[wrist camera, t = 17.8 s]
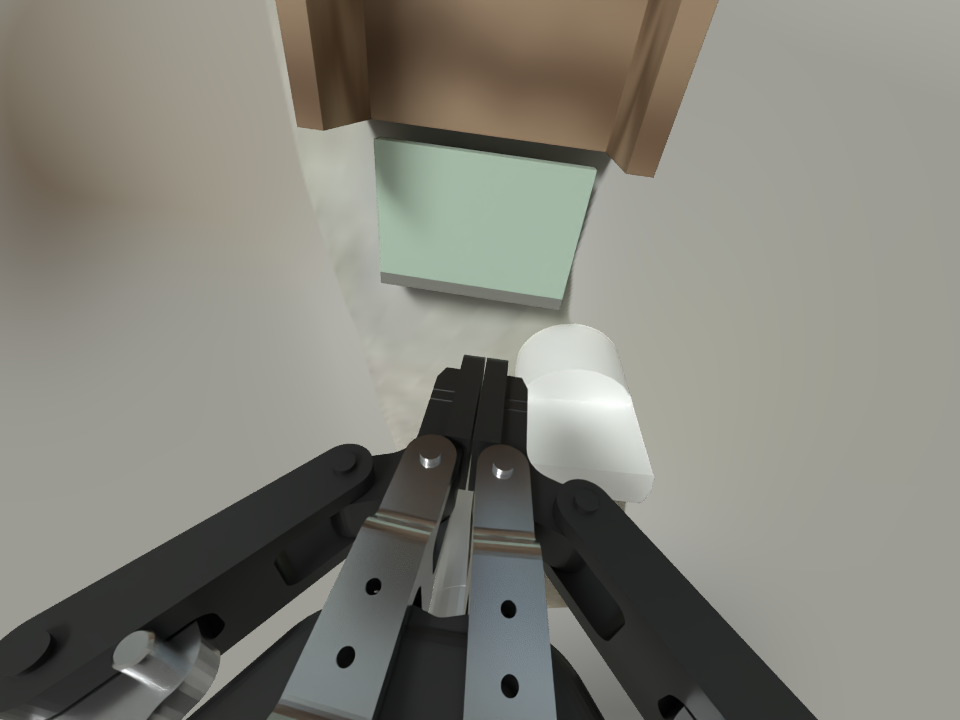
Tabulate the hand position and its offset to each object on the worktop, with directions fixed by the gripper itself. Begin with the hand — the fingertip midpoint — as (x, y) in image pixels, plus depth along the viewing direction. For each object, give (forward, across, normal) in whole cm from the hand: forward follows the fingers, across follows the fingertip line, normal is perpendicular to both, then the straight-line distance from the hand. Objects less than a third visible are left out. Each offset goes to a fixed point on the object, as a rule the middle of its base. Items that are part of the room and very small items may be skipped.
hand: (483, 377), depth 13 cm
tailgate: (+15, +2, -5) cm, 16 cm away
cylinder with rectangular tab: (+17, -7, +12) cm, 22 cm away
